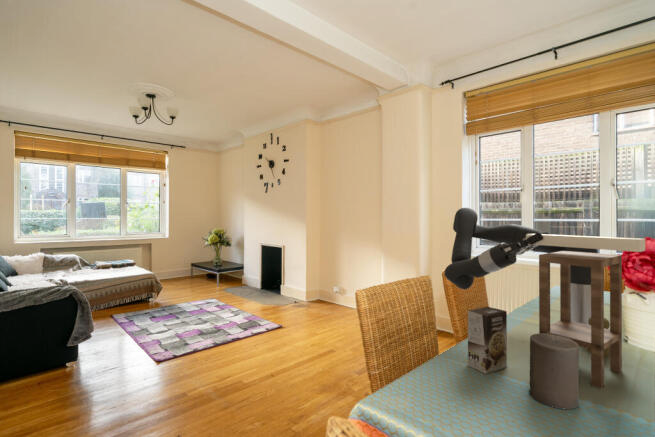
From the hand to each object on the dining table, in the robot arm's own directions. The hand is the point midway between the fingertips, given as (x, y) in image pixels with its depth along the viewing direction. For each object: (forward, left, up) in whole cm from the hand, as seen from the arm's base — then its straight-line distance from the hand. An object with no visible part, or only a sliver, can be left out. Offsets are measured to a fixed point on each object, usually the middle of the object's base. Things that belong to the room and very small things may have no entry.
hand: (545, 235), depth 99 cm
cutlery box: (0, +9, -3) cm, 9 cm away
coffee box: (+19, -7, -37) cm, 42 cm away
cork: (-18, +8, -37) cm, 42 cm away
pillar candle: (+22, +11, -37) cm, 45 cm away
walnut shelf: (0, +9, -37) cm, 38 cm away
